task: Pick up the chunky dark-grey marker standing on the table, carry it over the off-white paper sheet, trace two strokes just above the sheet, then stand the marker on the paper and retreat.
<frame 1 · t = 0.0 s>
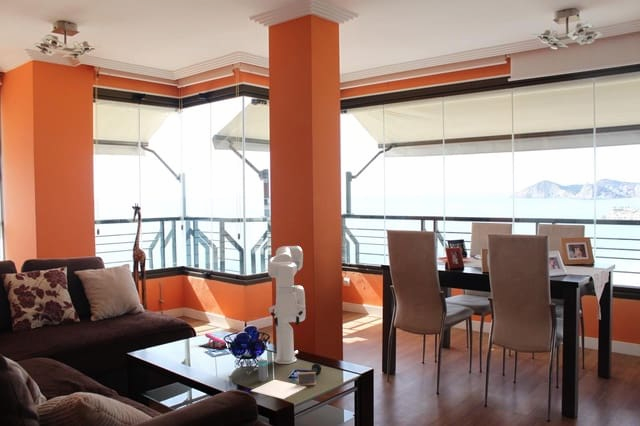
hand: (287, 325, 265), 31 cm above the table, fingers open, 9 cm apart
pink toy cannon: (217, 346, 346), on the table
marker: (263, 380, 280), on the table
microphone: (311, 377, 284), on the table
word card: (306, 384, 272), on the table
paper: (278, 389, 267), on the table
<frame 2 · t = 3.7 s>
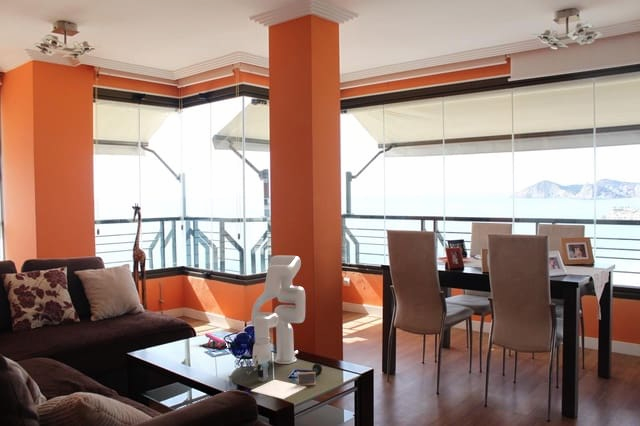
hand: (263, 375, 280), 2 cm above the table, fingers closed on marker, 3 cm apart
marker: (263, 380, 280), on the table, touching gripper
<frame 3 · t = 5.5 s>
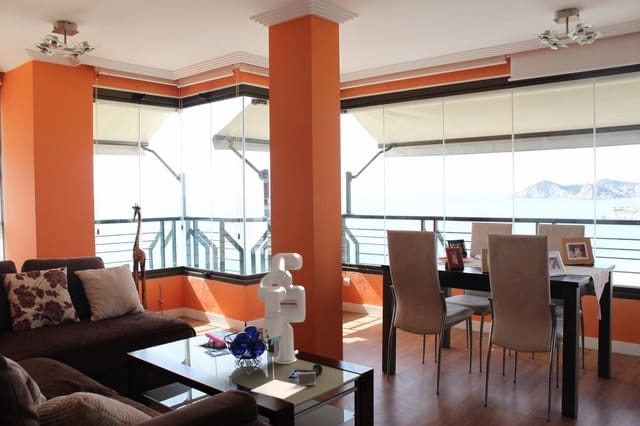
hand: (273, 351, 271), 17 cm above the table, fingers closed on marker, 3 cm apart
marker: (273, 355, 271), point 15 cm above the table, touching gripper
everything else where it was.
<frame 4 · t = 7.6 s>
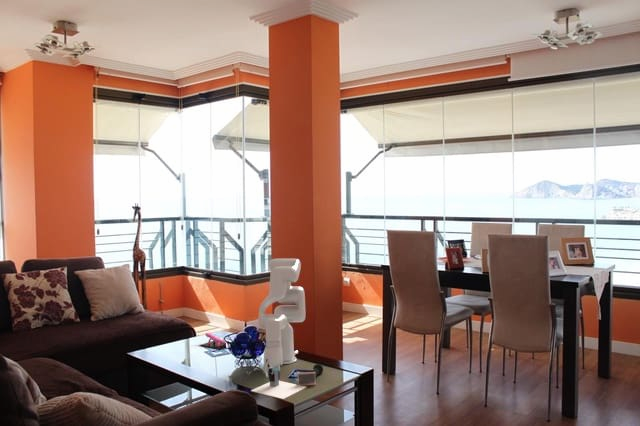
hand: (274, 379, 271), 3 cm above the table, fingers closed on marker, 3 cm apart
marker: (274, 385, 271), resting on paper, touching gripper
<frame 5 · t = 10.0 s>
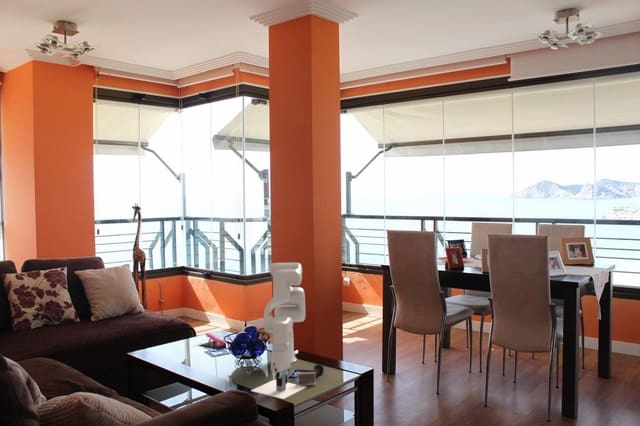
hand: (281, 384, 264), 3 cm above the table, fingers closed on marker, 3 cm apart
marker: (281, 390, 265), resting on paper, touching gripper
when the fingers open (3 cm above the table, at t = 11.6 s): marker stays where it is, resting on paper.
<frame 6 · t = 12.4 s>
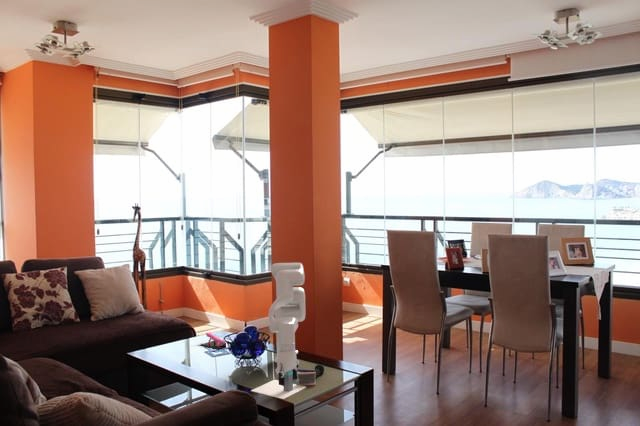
hand: (288, 382, 264), 4 cm above the table, fingers open, 9 cm apart
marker: (288, 390, 264), resting on paper
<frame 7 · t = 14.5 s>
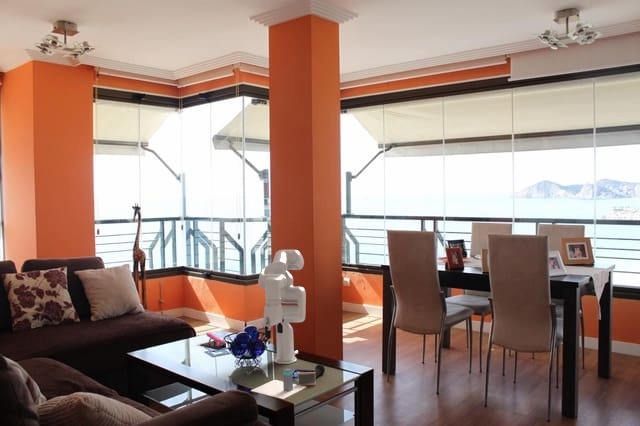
hand: (274, 335, 277), 24 cm above the table, fingers open, 9 cm apart
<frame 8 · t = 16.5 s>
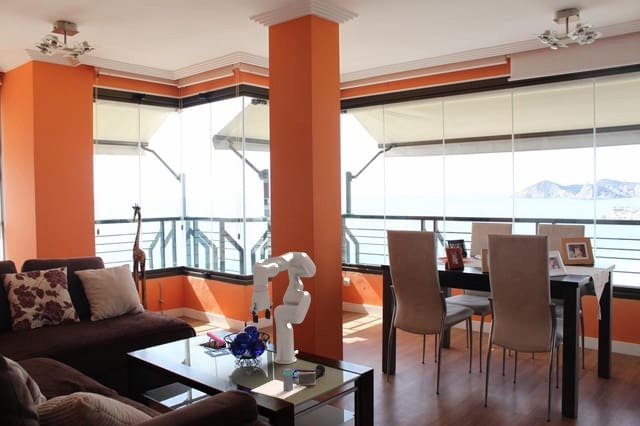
hand: (261, 320, 288), 28 cm above the table, fingers open, 9 cm apart
at the end: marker inside the target area on the paper (5.3 cm from its centre), point 0.3 cm above the paper's base; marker tilted 0°; the gripper is holding nothing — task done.
